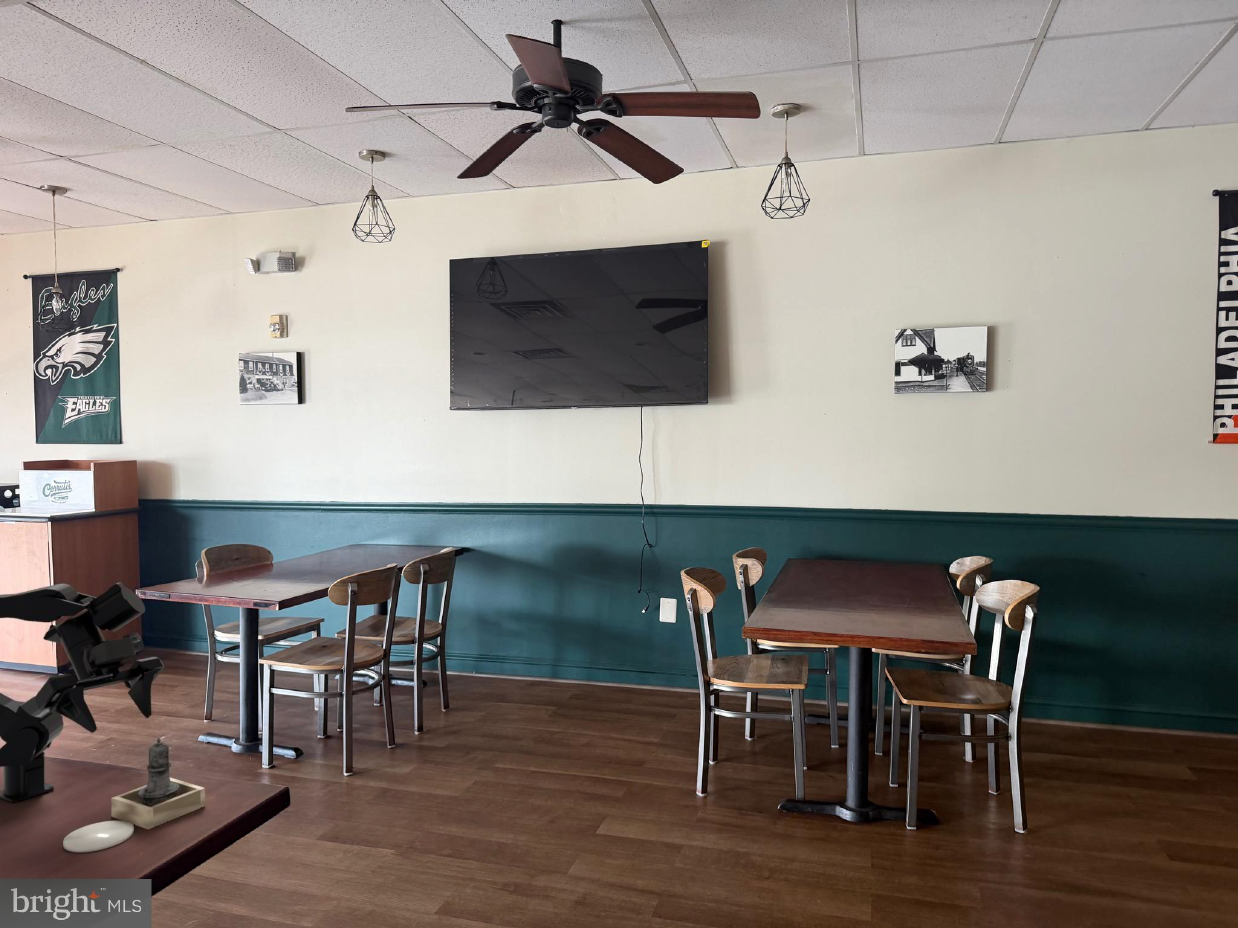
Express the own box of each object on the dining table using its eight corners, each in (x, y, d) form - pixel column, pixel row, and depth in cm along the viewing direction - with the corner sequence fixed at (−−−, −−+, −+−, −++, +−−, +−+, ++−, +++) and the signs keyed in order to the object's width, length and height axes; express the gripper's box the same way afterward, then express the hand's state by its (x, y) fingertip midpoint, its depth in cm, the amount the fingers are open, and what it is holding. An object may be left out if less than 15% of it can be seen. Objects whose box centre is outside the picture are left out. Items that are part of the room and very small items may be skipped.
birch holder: (111, 816, 131) (111, 797, 131) (168, 794, 139) (168, 776, 139) (148, 829, 126) (148, 810, 126) (204, 805, 135) (204, 787, 135)
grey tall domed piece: (161, 820, 129) (160, 745, 129) (129, 817, 130) (128, 742, 130) (187, 805, 135) (187, 733, 135) (156, 802, 136) (156, 730, 136)
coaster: (50, 843, 121) (50, 839, 121) (111, 819, 129) (111, 815, 129) (85, 857, 117) (85, 853, 117) (146, 832, 125) (146, 828, 125)
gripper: (49, 627, 130) (88, 709, 125) (160, 611, 146) (198, 683, 141) (18, 668, 133) (54, 750, 128) (130, 648, 150) (166, 719, 145)
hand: (122, 723), depth 136 cm, fingers open, 9 cm apart
